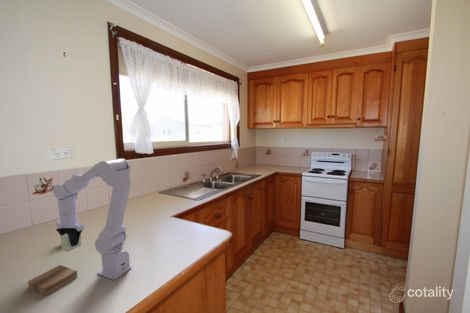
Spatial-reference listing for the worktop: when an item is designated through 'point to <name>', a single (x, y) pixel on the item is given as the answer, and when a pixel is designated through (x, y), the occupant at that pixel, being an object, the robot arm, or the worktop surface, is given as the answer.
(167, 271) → the worktop surface
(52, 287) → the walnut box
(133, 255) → the worktop surface
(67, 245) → the sage-green block
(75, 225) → the robot arm
